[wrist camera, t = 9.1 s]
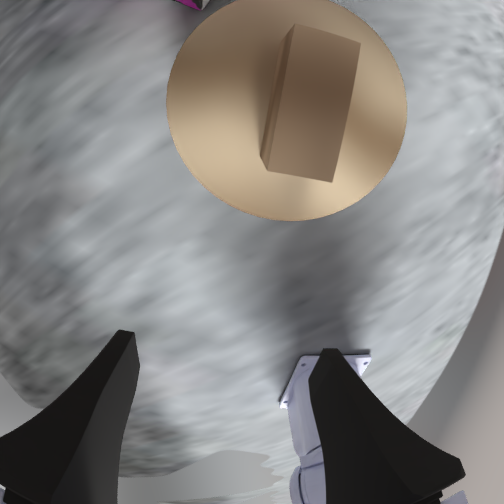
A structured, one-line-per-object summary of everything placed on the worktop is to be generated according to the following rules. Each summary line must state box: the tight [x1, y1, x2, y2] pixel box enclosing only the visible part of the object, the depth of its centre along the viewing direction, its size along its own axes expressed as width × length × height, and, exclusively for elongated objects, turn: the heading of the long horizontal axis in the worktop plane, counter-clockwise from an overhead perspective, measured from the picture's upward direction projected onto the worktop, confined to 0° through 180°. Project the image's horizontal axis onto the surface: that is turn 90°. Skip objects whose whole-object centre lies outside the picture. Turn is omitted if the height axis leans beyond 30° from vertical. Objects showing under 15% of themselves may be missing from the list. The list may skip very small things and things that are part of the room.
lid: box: [166, 0, 407, 221], centre depth 9 cm, size 10×10×4 cm
